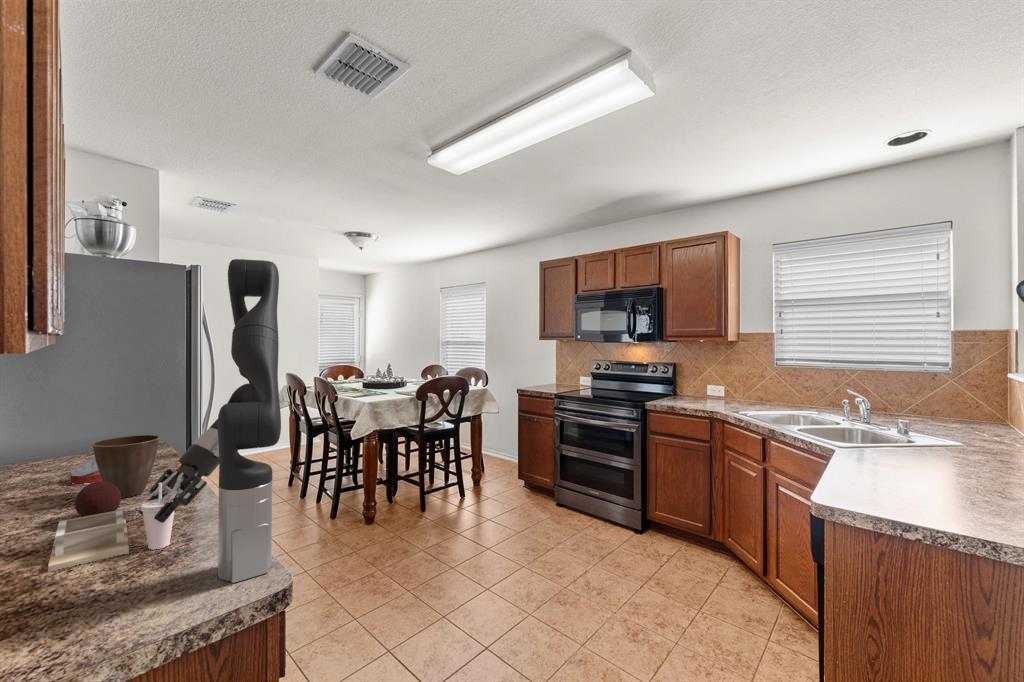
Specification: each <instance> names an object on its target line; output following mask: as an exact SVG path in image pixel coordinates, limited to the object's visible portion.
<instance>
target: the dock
mask: <svg viewBox="0 0 1024 682" xmlns="http://www.w3.org/2000/svg"><path fill="white" fill-rule="evenodd" d="M129 552H130V546H129V539H128V528H127V521H126V519H124V510H123V509H117V510H116V511H112V512H106V513H101V514H95V515H90V516H85V517H81V516H80V517H75V518H69V519H63V520H59V522H58V525H57V530H56V534H55V538H54V541H53V546H52V550H51V554H50V558H49V561H48V564H47V565H48V566H47V572H48V573H50V571H51V572H55V571H59V570H58V569H60V570H63V569H62V568H64V569H67V567H68V568H71V567H76V566H75V565H77V566H80V565H79V564H81V565H85V564H89V563H93V562H92V561H94V562H97V561H96V560H98V561H101V560H100V559H102V560H105V559H104V558H106V559H109V558H108V557H111V558H114V557H113V556H115V557H118V555H119V556H123V554H124V555H127V554H129ZM88 562H89V563H88ZM84 563H85V564H84Z"/></svg>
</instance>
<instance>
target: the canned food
mask: <svg viewBox="0 0 1024 682" xmlns="http://www.w3.org/2000/svg"><path fill="white" fill-rule="evenodd" d="M69 476H70V477H69V480H70V482H69V483H74V484H84V483H92V482H97V481H102V478H101V476H100V473H99V470H98V467H97V463H96V459H95V455H94V456H91V457H89V458H88V459H86V460H83V462H81V463H80V464H78V465H77V466H75V467H74V468H73V469H72V470H71V473H70V475H69Z"/></svg>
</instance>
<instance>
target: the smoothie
mask: <svg viewBox="0 0 1024 682" xmlns="http://www.w3.org/2000/svg"><path fill="white" fill-rule="evenodd" d="M158 488H159V499H154V500H150V501H148V500H147V501H145V502H143V503H142V504H141V505H140V509H141V511H143V515H142V517H143V523H144V529H145V537H146V542H147V547H148V550H150V549H151V550H150V551H155V550H156V549H157V550H161V549H163V548H167V547H168V546H169V545H170V543H171V536H172V531H173V522H174V517H175V511H176V509H175V510H174V511H173V513H172V514H171V515H170V516H169V517H168V518H167V520H166V521H165V522H163V523H161V522H159V521H157V520H155V519H154V517H155V515H156V514H157V513H158V512H159V511H160V510H161V509H162V507H163V506H164V505H165V504H166V503H167V502H169V500H170V498H171V496H170V497H166V498H162V483H159V486H158ZM169 503H170V502H169ZM166 546H167V547H166Z"/></svg>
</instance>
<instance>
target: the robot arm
mask: <svg viewBox="0 0 1024 682" xmlns="http://www.w3.org/2000/svg"><path fill="white" fill-rule="evenodd" d="M227 285H228V291H229V299H230V306H231V312H232V317H233V323H234V327H233V330H232V333H231V347H230V348H231V349H230V351H231V354H230V355H231V358H232V360H233V362H234V363H235V365H236V366H237V368H238V372H239V374H240V376H242V377H243V378H245V379H246V380H247V381H248V383H244V384H242V385H240V386H239V387H237V388H236V389H235V390H234V391H233V393H231V395H230V398H229V399H228V401H227V403H225V404H223V405H222V406H221V407H220V409H219V413H218V416H217V419H216V420H215V421H214V422H213V423H212V425H211V426H210V427H209V428H207V430H205V431H204V432H203V433H202V434H201V435H200V436H199V437H198V438H197V439H196V440H195V441H194V442H193V444H191V445H190V447H188V449H187V450H186V451H185V452H184V453H183V454H182V455H181V456H180V457H179V459H178V461H179V463H180V466H179V467H178V468H177V469H175V470H174V471H173V470H172V469H170V468H167V469H166V470H165V471H164V473H163V474H162V475H161V476H160V477H159V478H158V479H157V481H156V482H155V483H154V484H153V485H152V487H151V488H150V489H149V491H148V492H149V493H150V498H149V499H147V501H150V500H154V499H159V483H162V498H168V496H170V500H169V502H170V503H169V502H167V503H166V504H165V505H164V506H163V507H162V509H161V510H160V511H159V512H158V513H157V514H156V515H155V517H154V519H155V520H157V521H159V522H161V523H163V522H165V521H166V520H167V518H168V517H169V516H170V515H171V514H172V513H173V511H174V510H175V511H176V509H177V508H180V507H181V506H184V507H187V506H188V505H189V504H190V503H191V502H192V501H193V499H194V498H195V497H196V496H197V495H198V494H199V493H200V492H201V491H202V490H203V489H204V488H205V486H206V485H207V483H208V482H207V481H205V479H203V478H202V477H205V478H208V477H210V476H211V475H212V473H213V472H214V471H215V470H216V469H217V467H219V468H218V470H219V471H218V502H217V503H218V507H217V509H218V514H217V515H218V516H217V517H218V519H217V521H218V522H217V524H218V526H217V576H218V577H217V578H219V579H220V580H223V581H228V582H231V584H234V583H238V582H241V581H245V580H248V579H250V578H255V577H257V576H261V575H263V574H264V575H265V574H267V573H268V574H269V570H270V568H271V566H272V564H273V563H272V559H273V557H272V556H273V555H271V554H272V552H273V549H272V547H273V542H272V541H273V539H272V538H273V468H272V466H271V465H270V464H268V463H265V462H262V461H256V460H252V459H249V458H247V457H245V456H243V455H242V454H240V453H239V450H240V451H241V450H250V449H251V450H252V449H258V448H259V449H261V448H268V447H270V448H271V447H273V446H275V445H276V444H278V442H279V440H280V437H281V433H282V431H281V430H282V418H281V417H282V416H281V414H282V413H281V403H280V389H279V378H278V376H279V350H280V349H279V325H278V304H279V303H278V302H279V301H278V300H279V290H280V275H279V270H278V267H277V264H276V263H274V262H273V261H270V260H263V259H262V260H260V259H257V260H256V259H245V258H241V259H240V258H235V259H231V260H230V262H229V263H228V268H227ZM246 297H249V298H250V297H253V298H254V297H255V298H259V300H258V302H257V303H255V305H254V306H253V307H252V308H251V309H250V310H248V308H247V305H246V299H245V298H246ZM175 511H174V512H175ZM137 513H138V514H140V515H142V516H143V511H141V508H140V509H138V512H137Z"/></svg>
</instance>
